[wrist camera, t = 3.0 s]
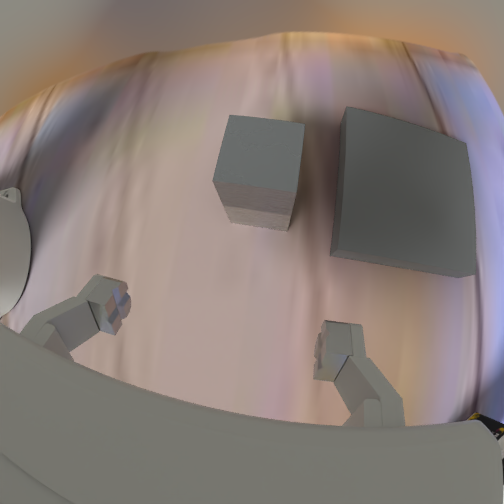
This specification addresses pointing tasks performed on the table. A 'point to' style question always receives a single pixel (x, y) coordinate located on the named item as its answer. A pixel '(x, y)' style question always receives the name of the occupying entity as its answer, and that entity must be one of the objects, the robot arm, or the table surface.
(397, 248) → the charcoal stand
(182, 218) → the table surface
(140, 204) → the table surface
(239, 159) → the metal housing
